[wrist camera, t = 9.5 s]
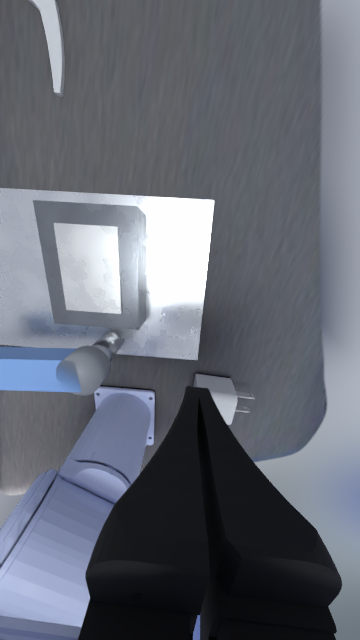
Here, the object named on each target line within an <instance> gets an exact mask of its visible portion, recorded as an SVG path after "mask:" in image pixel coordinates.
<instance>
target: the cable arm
mask: <svg viewBox="0 0 360 640" xmlns="http://www.w3.org/2000/svg"><path fill="white" fill-rule="evenodd" d="M110 369H111V364H110V360H109V358H108V356H107V355H106V354H105V353H104V352H103V351H102V350H100V349H99V348H97V347H94V346H82V347H79V348H34V347H0V390H20V391H51V392H71V393H73V394H76V395H89V394H92V393H94V392H95V391H96V390H97V389H98V388H99V386H100V385H101V384H102V382H103V381H104V379H105V378H106V376H107V375H108V374H109V372H110Z"/></svg>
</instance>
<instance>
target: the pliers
mask: <svg viewBox="0 0 360 640" xmlns="http://www.w3.org/2000/svg"><path fill="white" fill-rule="evenodd" d="M28 1H29V2H31V3H32V4H33V5H34V6H35V7H37V8H38V10H39V11H40V12H41V16H42V20H43V25H44V29H45V33H46V38H47V43H48V49H49V55H50V62H51V69H52V76H53V86H54V93H55V94H56V95H57V96H60V97H63V91H64V79H65V52H64V40H63V31H62V25H61V19H60V14H59V9H58V5H57V1H56V0H28Z"/></svg>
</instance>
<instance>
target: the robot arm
mask: <svg viewBox="0 0 360 640" xmlns="http://www.w3.org/2000/svg"><path fill="white" fill-rule="evenodd" d="M94 396H95V405H96V411H95V413H94V415H93V416H92V418H91V420H90V421H89V423H88V424H87V426H86V428H85V429H84V431H83V433H82V434H81V436H80V437H79V439H78V441H77V442H76V444H75V445H74V447H73V449H72V450H71V452H70V454H69V455H68V457H67V458H66V460H65V462H64V463H63V465H62V466H61V468H60V469H59V470H58V471H56V470H54V469H52V468H51V469H49V470H48V471H47V472H44V473H41V474H39V475H38V477H37V478H36V479H35V481H34V482H33V483H32V485H31V486H30V487H29V489H28V490H27V492H26V493H25V494H24V496H23V497H22V498H21V500H20V501H19V503H18V504H17V505H16V507H15V508H14V510H13V511H12V513H11V514H10V515H9V517H8V518H7V519H6V521H5V522H4V524H3V525H2V527H1V528H0V640H193V631H194V627H195V623H196V619H197V615H200V640H336V639H335V636H334V633H336V632H337V630H336V626H335V623H334V620H333V618H332V616H331V613H330V611H329V608H328V606H329V605H330V604H331V602H332V601H333V600H334V599H335V598H336V597H337V595H338V594H339V592H340V590H341V587H342V581H341V577H340V575H339V573H338V571H337V569H336V567H335V564H334V562H333V560H332V558H331V556H330V554H329V552H328V550H327V548H326V546H325V545H324V543H323V541H322V539H321V537H320V536H319V534H318V532H317V530H316V529H315V528H314V527H313V526H312V525H311V524H310V523H309V522H308V521H307V520H306V519H305V518H304V517H303V516H302V515H301V514H300V513H299V512H298V511H297V510H296V509H295V508H294V507H293V506H292V505H291V504H290V503H289V502H288V501H287V500H286V499H285V498H284V497H283V495H281V493H280V492H279V491H278V490H277V489H276V488H275V487H274V486H273V485H272V483H271V482H270V481H269V480H268V479H267V478H266V476H265V475H264V474H263V473H262V472H261V471H260V469H259V468H258V467H257V466H256V465H255V463H254V462H253V461H252V460H251V458H250V457H249V456H248V454H247V453H246V452H245V451H244V449H243V448H242V446H241V445H240V444H239V442H238V441H237V439H236V438H235V436H234V435H233V433H232V432H231V430H230V429H229V427H228V425H227V424H226V422H225V420H224V419H223V417H222V415H221V413H220V411H219V410H218V408H217V406H216V404H215V402H214V400H213V397H212V395H211V393H210V390H209V389H208V388H201V387H190V386H187V387H186V391H185V395H184V399H183V402H182V404H181V407H180V409H179V412H178V414H177V416H176V418H175V420H174V422H173V424H172V426H171V428H170V430H169V432H168V434H167V435H166V437H165V439H164V440H163V442H162V444H161V445H160V447H159V448H158V450H157V451H156V453H155V454H154V456H153V457H152V459H151V460H150V461H149V463H148V464H147V465H146V467H145V468H144V469H143V471H142V472H141V473H140V470H141V466H142V461H143V457H144V453H145V448H146V445H153V443H154V415H155V393H154V392H153V391H150V390H138V389H126V388H114V387H102V386H99V388H98V389H97V390H96V391H95V392H94ZM150 397H152V398H150ZM139 474H140V475H139Z"/></svg>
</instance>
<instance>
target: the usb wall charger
mask: <svg viewBox="0 0 360 640" xmlns="http://www.w3.org/2000/svg"><path fill="white" fill-rule="evenodd" d="M193 387H201V388H208V389H209V390H210V393H211V395H212V397H213V400H214V402H215V404H216V406H217V408H218V410H219V411H220V413H221V415H222V417H223V419H224V420H225V422H226V424H228V425H231V423H232V420H233V416H234V413H235V411H239V412H249V413H250V410H249V408H248V407H243V406H237V397H241V398H249V399H255V397H254V395H253V394H249V393H244V392H236V391H235V388H234V386H233V383H232V380H231V378H224V377H216V376H209V375H202V374H195V380H194V385H193ZM249 395H251V396H252V397H250V396H249ZM245 409H247V410H248V411H246V410H245Z"/></svg>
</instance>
